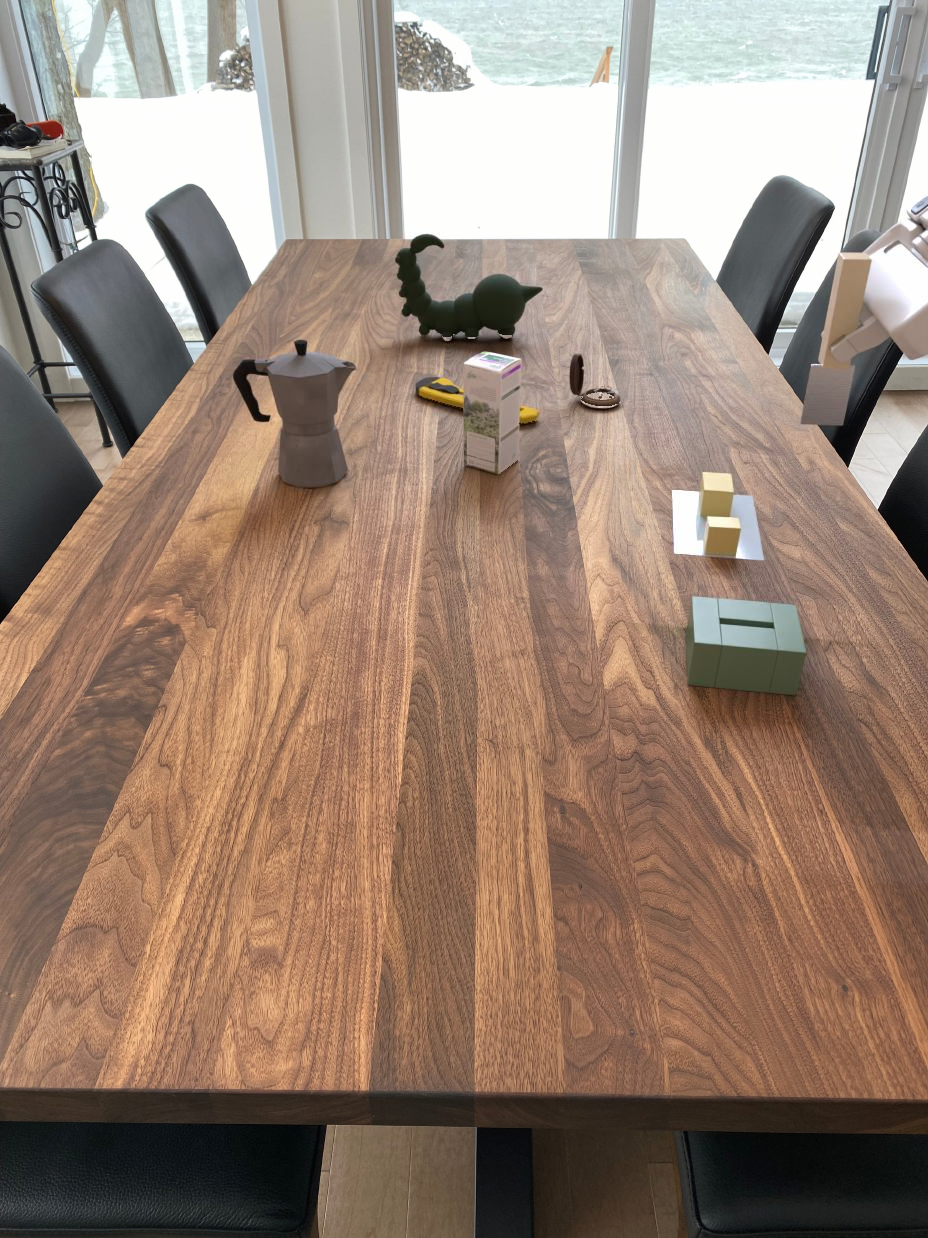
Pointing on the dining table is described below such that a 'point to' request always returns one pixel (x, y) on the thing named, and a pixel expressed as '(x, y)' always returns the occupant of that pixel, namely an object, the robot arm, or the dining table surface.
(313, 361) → the coffeepot
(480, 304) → the toy figurine
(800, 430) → the dining table surface
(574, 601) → the dining table surface
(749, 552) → the butter dish
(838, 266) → the putty knife
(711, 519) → the butter pat
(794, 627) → the knife block
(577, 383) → the compass
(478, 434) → the syrup box
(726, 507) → the butter stick
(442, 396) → the utility knife
